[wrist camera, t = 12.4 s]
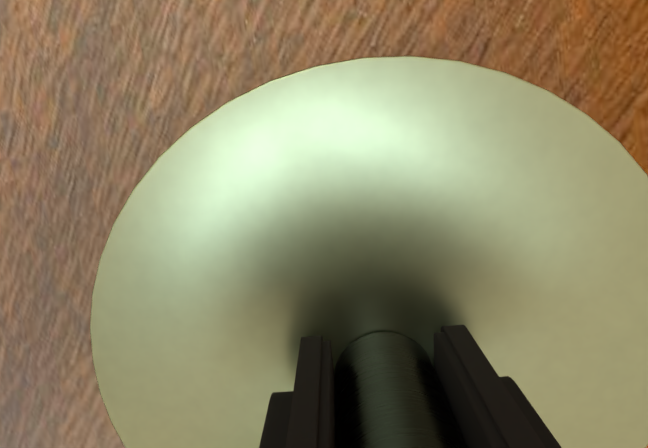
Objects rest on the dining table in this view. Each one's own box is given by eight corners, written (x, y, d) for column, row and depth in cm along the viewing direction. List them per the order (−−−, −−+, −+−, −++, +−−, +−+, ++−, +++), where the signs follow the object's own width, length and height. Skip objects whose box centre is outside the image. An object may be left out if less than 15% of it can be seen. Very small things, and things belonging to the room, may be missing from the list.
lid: (175, 549, 13) (48, 898, 7) (47, 99, 9) (-489, 55, 3) (617, 527, 13) (877, 893, 7) (694, 28, 8) (1573, -199, 2)
